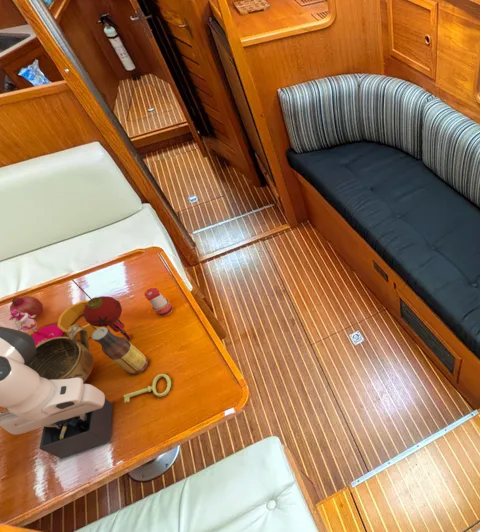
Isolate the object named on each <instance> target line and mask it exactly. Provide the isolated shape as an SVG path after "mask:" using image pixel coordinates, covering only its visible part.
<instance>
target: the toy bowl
mask: <svg viewBox="0 0 480 532" xmlns="http://www.w3.org/2000/svg"><path fill="white" fill-rule="evenodd" d="M88 301H89V300H82V301H81V300H80V301H79V302H76V303H74V304H72V305H69V307H67V308H66V309H64V310H63V312H62V313H60V315H59V316H58V320H57V324H56V325H57V326H58V327H59V328H60V329H61V330H62V331H63V333H65V335H67V333H68V329H69V328H70V327H71V326H72V325H73V324H74V323H75V322H76V320H78V319H79V317H81V316H84V314H83V313H84V309H85V306H86V305H87V303H88ZM82 327H83V328H84V329H85V330H86V331H87V335H88V339H89V338H92V334H93V332H94V331H95V330H97V329H98V328H101V327H97V326H93V325H91V324H89V323H87V324H85V325H83V326H82ZM103 327H105V328H106V326H103ZM76 340H77V341H81V339H80V331H79V332H78V333H77V335H76Z"/></svg>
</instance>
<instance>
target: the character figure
mask: <svg viewBox="0 0 480 532" xmlns="http://www.w3.org/2000/svg"><path fill="white" fill-rule="evenodd" d="M55 424H56V425H58V426H59V425H62V424H63V428H62V431H61V434H60V437H59V439H60V440H61V439H63V436H64V434H65V431H66V429H67V426H68V425H69V426H71V427H73V429H74V430H75V431H79V432H85V429H84V428H81V425H83V426H84V427H89V424H88V423H86V422H85V421H82V422H79V421H77V417H76V416H75V417H72V418H69V419H66V420H61V421H58V422H56V423H55Z"/></svg>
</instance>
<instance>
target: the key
mask: <svg viewBox="0 0 480 532" xmlns="http://www.w3.org/2000/svg"><path fill="white" fill-rule="evenodd" d="M161 378H164V379H165V380H166V387H165V390H164V391H163V392H161V393H159V392H157V382H158V381H159V379H161ZM171 387H172V380H171V377H170V376H169V375H167V374H166V373H159V374H157V375H156V376H155V377H154V378H153V380H152V385H147V387H145V388H141V389H138V390H135V391H132V392H129V393H126V394H123V398H124V403H125V404H127V403H130V401H131V398H132V397H135V396H139V395H143V394H144V393H145V394H146V393H151V392H152V393H153V394H154V395H155V396H156V397H158V398H163V397H166V395H168V394H169V392H170V390H171Z"/></svg>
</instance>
